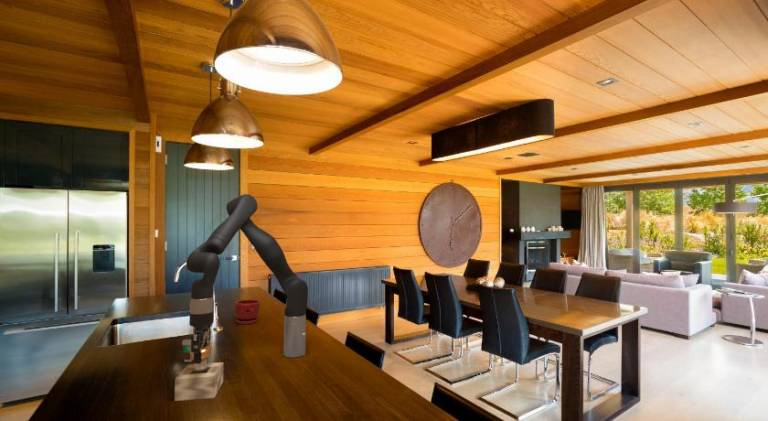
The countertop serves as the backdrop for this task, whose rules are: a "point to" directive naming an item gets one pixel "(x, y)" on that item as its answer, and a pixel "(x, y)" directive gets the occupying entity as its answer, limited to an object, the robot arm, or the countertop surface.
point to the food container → (187, 351)
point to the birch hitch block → (199, 382)
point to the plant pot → (247, 311)
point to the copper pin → (202, 359)
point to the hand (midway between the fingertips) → (200, 359)
